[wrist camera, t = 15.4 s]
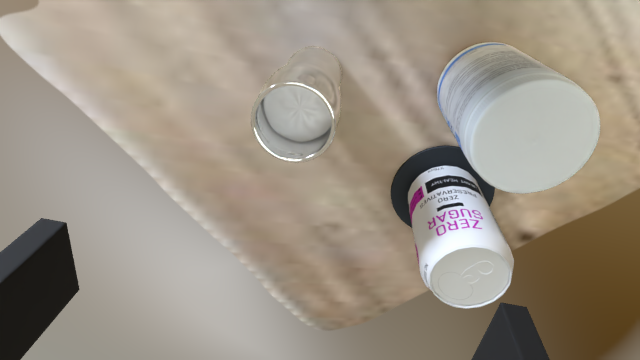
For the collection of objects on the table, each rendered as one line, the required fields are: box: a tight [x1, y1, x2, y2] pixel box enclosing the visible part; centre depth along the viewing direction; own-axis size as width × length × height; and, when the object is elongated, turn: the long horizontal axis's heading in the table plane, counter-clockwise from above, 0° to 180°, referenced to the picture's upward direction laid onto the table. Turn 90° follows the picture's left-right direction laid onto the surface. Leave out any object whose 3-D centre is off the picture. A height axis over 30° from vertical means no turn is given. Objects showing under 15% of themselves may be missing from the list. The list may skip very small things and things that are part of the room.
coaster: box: [391, 146, 495, 227], centre depth 50 cm, size 12×12×1 cm
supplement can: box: [408, 166, 514, 309], centre depth 43 cm, size 8×8×15 cm
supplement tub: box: [437, 42, 600, 193], centre depth 37 cm, size 10×10×15 cm
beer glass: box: [251, 46, 342, 163], centre depth 38 cm, size 7×7×15 cm
